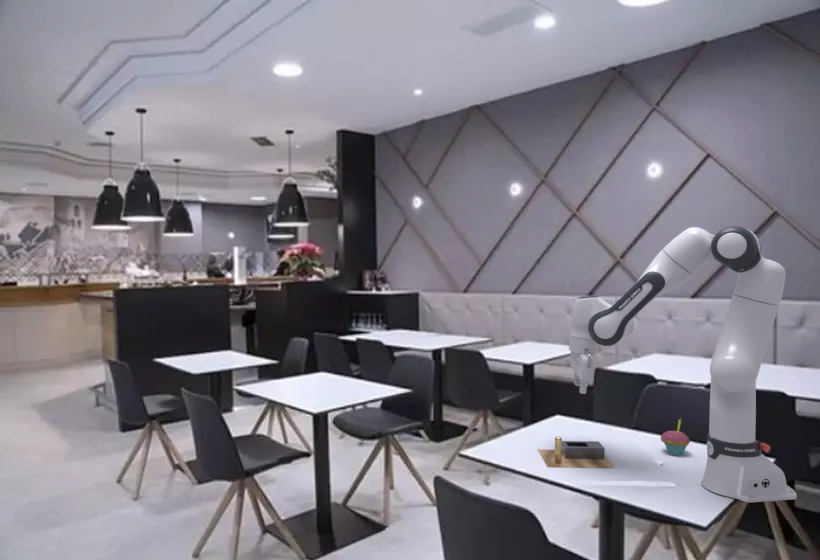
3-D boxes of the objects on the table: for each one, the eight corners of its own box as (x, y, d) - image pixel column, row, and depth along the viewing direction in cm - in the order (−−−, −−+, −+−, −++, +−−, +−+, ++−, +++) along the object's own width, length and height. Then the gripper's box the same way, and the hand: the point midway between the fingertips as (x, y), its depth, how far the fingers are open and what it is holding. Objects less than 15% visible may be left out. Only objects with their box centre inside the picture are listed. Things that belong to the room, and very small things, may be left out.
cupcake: (695, 455, 184) (696, 418, 184) (675, 458, 181) (676, 421, 180) (674, 447, 192) (674, 412, 192) (654, 450, 189) (655, 414, 188)
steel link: (598, 452, 183) (598, 441, 183) (604, 459, 176) (604, 448, 176) (560, 451, 183) (560, 440, 183) (565, 458, 177) (565, 447, 176)
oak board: (599, 454, 184) (599, 450, 184) (615, 473, 168) (615, 468, 168) (537, 453, 185) (537, 449, 185) (547, 472, 169) (547, 467, 169)
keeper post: (560, 461, 174) (561, 435, 174) (562, 463, 172) (562, 437, 172) (554, 461, 174) (554, 435, 174) (555, 463, 172) (555, 437, 172)
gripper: (601, 353, 169) (596, 399, 171) (588, 341, 190) (584, 382, 191) (579, 351, 170) (575, 397, 171) (568, 339, 190) (564, 380, 191)
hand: (579, 389), depth 181 cm, fingers open, 8 cm apart
